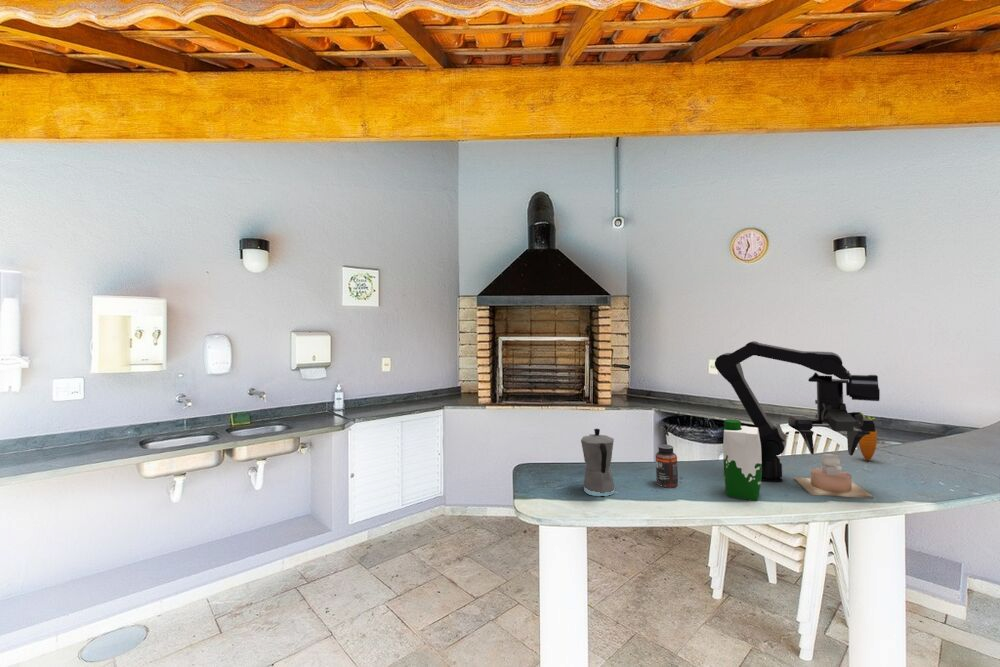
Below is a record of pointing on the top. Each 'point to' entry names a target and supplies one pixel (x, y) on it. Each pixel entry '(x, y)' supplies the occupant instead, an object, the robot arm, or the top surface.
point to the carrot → (868, 443)
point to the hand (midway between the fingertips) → (831, 454)
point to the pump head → (831, 460)
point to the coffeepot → (598, 462)
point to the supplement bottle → (666, 466)
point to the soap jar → (831, 479)
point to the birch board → (813, 490)
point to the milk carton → (742, 460)
